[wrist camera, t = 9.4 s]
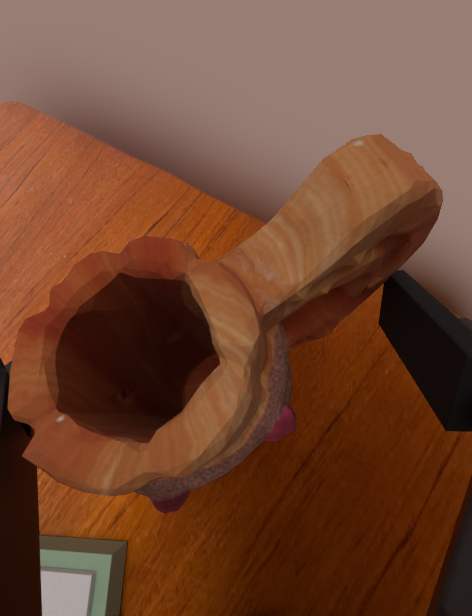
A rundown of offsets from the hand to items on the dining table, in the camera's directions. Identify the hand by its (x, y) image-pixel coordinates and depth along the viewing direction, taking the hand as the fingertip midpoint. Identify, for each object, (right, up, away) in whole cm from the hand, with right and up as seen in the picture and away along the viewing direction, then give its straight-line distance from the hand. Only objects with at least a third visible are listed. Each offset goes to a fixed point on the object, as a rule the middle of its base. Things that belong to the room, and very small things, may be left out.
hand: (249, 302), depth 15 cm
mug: (+1, -4, +6) cm, 7 cm away
